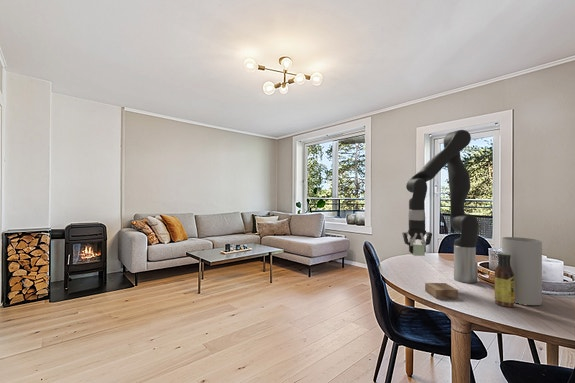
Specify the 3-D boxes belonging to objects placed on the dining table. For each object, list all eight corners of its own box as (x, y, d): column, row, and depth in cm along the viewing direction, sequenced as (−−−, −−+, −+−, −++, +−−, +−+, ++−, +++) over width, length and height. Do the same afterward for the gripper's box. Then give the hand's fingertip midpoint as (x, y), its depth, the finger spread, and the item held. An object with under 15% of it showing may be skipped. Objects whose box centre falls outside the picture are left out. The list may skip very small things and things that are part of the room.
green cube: (420, 253, 141) (420, 243, 141) (424, 255, 136) (424, 245, 136) (410, 253, 141) (410, 243, 141) (414, 255, 136) (414, 245, 136)
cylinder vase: (501, 293, 123) (501, 236, 123) (539, 299, 116) (539, 239, 116) (502, 301, 113) (502, 239, 113) (544, 309, 106) (544, 243, 106)
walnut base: (445, 292, 125) (445, 283, 125) (457, 299, 116) (457, 290, 116) (425, 291, 125) (425, 282, 125) (435, 299, 116) (436, 289, 116)
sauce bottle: (515, 309, 105) (516, 256, 106) (495, 305, 109) (495, 254, 109) (513, 303, 111) (513, 253, 111) (493, 300, 114) (493, 251, 114)
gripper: (428, 218, 142) (428, 251, 142) (399, 218, 143) (399, 251, 143) (435, 219, 134) (435, 255, 134) (404, 219, 135) (405, 254, 135)
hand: (417, 253), depth 138 cm, fingers closed on green cube, 5 cm apart
